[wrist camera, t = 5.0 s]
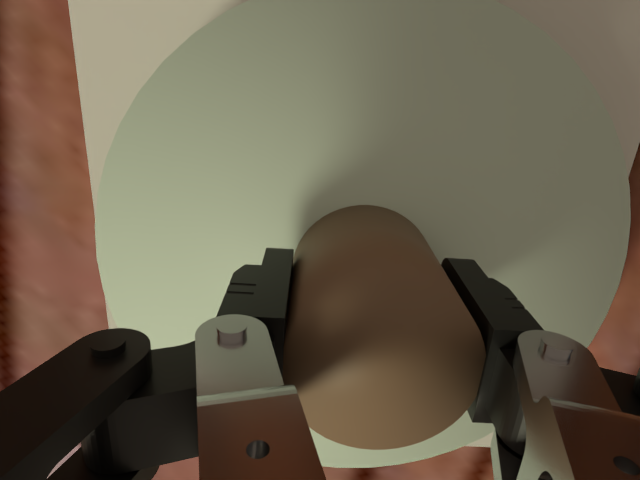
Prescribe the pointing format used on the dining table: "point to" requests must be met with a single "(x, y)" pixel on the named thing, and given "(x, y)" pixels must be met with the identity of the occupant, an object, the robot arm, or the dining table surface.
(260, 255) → the lid
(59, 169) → the dining table surface
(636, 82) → the mat
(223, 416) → the robot arm
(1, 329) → the dining table surface
